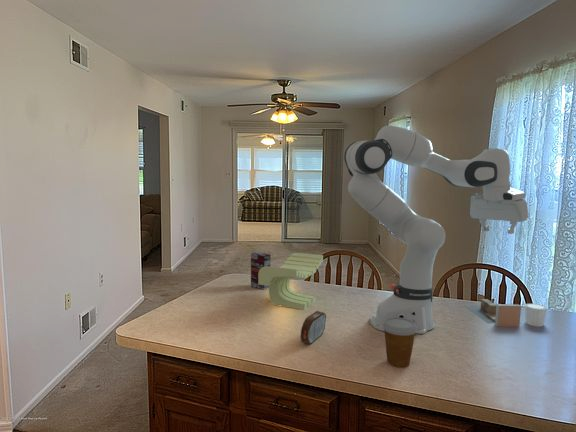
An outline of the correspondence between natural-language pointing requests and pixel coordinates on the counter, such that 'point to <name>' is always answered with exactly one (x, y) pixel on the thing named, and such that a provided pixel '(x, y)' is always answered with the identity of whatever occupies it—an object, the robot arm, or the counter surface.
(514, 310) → the tile
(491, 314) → the tan stepped block
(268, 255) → the supplement box
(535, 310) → the white cup
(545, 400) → the counter surface
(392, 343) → the disposable coffee cup
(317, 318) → the tin
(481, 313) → the tool rest mat
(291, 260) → the slatted curved stool
